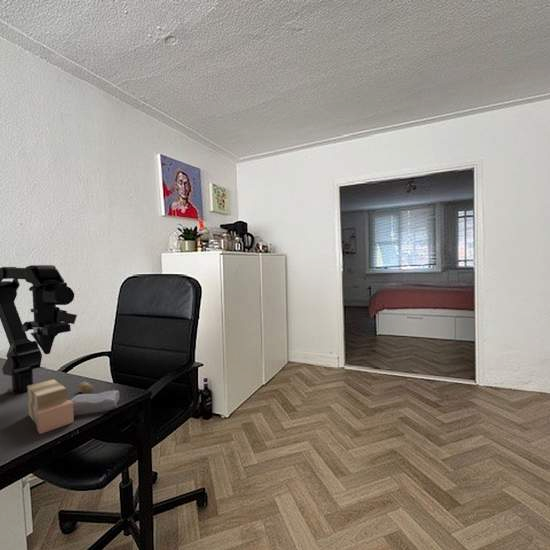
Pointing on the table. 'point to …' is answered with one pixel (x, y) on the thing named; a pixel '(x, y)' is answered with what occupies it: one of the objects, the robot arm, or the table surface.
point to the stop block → (54, 416)
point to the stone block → (95, 402)
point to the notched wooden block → (44, 395)
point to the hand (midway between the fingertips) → (47, 353)
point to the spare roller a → (85, 388)
